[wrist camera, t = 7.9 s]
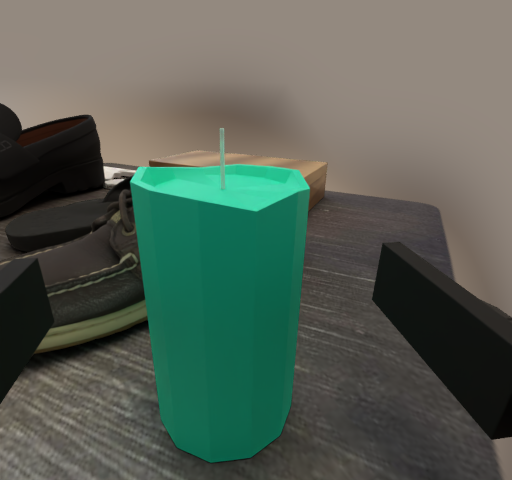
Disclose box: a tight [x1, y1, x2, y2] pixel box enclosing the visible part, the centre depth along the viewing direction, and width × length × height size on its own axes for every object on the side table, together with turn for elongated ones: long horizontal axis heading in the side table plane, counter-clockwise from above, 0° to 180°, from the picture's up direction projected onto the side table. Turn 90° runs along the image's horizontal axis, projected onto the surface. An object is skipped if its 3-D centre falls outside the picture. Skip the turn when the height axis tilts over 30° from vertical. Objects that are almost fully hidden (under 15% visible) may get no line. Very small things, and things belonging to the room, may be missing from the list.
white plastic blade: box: [103, 166, 136, 180], centre depth 57 cm, size 5×15×1 cm, turn 65°
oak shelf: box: [149, 150, 328, 211], centre depth 47 cm, size 22×12×5 cm, turn 65°
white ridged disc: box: [103, 179, 125, 189], centre depth 51 cm, size 4×4×1 cm
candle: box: [130, 128, 310, 463], centre depth 13 cm, size 6×6×12 cm
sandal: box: [5, 175, 134, 252], centre depth 35 cm, size 10×25×6 cm, turn 123°
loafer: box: [0, 103, 105, 218], centre depth 39 cm, size 10×28×12 cm, turn 156°
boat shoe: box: [0, 189, 148, 354], centre depth 23 cm, size 9×25×8 cm, turn 134°
